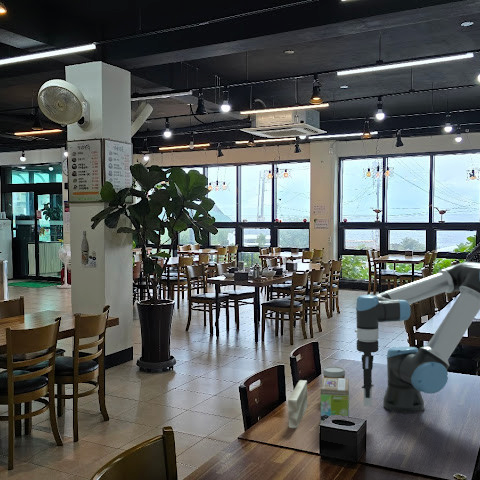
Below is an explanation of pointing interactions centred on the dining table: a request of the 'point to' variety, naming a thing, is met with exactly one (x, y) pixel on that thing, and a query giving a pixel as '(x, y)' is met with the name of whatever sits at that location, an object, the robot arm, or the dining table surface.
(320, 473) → the dining table surface
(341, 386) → the tea box
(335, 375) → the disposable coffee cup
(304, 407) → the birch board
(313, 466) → the dining table surface
